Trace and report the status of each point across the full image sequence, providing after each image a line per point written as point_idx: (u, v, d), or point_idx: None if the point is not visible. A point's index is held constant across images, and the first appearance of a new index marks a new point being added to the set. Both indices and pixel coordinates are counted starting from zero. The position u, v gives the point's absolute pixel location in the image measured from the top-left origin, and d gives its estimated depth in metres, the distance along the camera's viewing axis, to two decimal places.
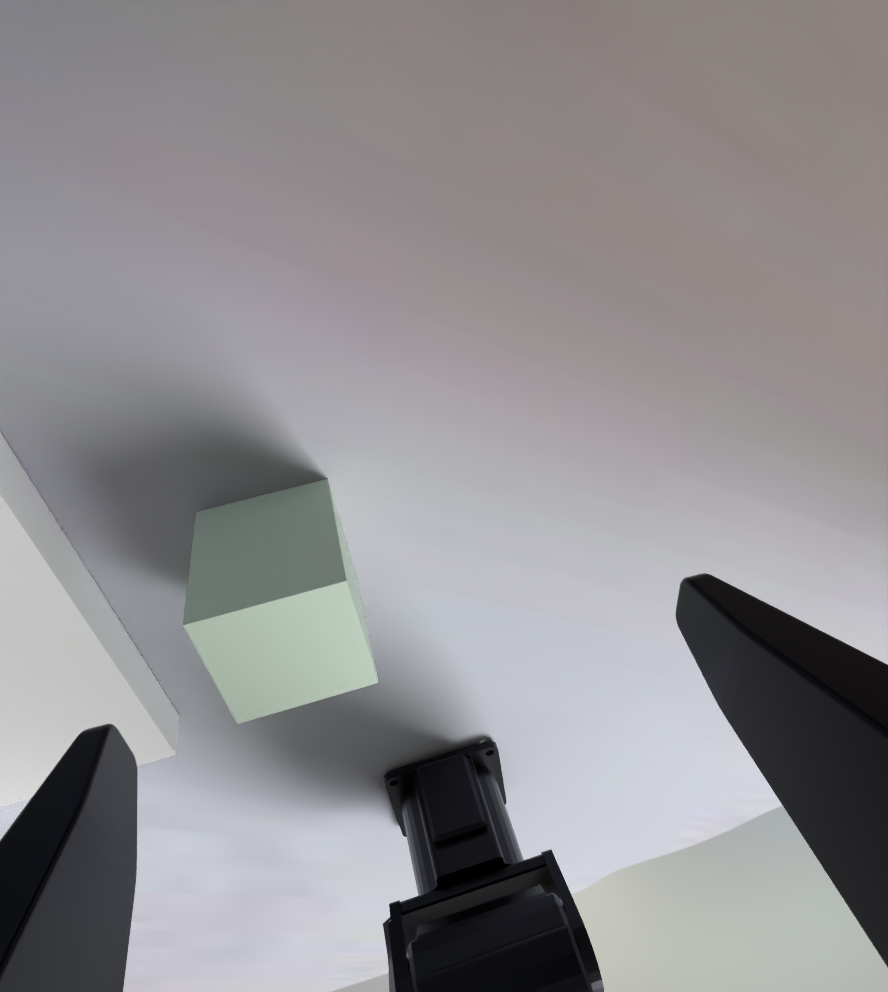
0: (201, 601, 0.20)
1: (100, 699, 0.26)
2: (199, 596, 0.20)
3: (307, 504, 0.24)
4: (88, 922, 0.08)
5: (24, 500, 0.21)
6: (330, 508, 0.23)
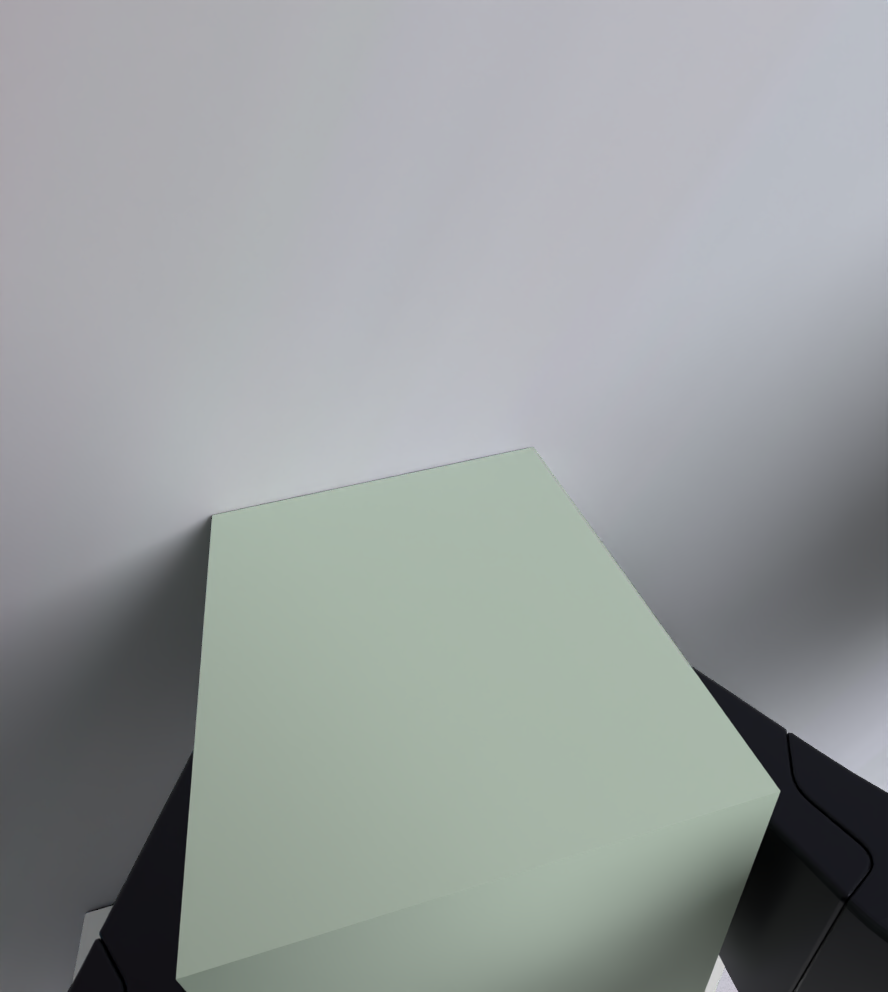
0: None
1: None
2: None
3: None
4: None
5: None
6: (207, 613, 0.08)
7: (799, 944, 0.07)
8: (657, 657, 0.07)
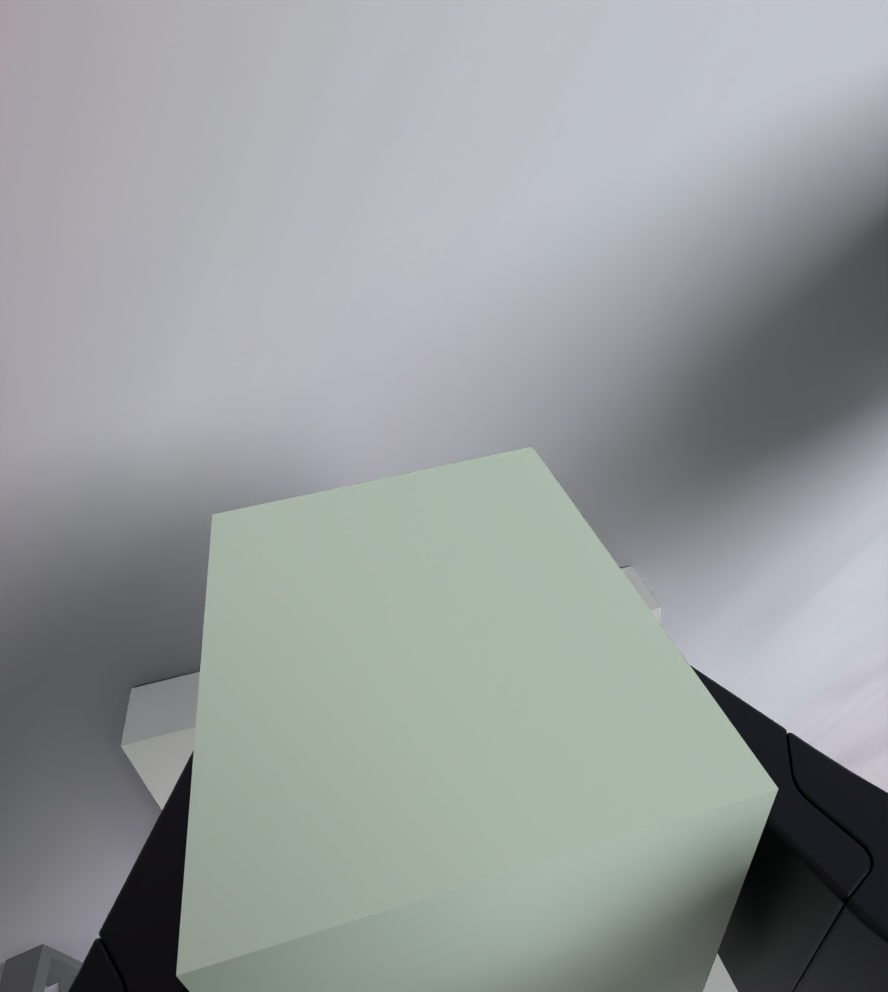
0: None
1: None
2: None
3: None
4: None
5: None
6: (207, 612, 0.08)
7: (799, 944, 0.07)
8: (656, 656, 0.07)
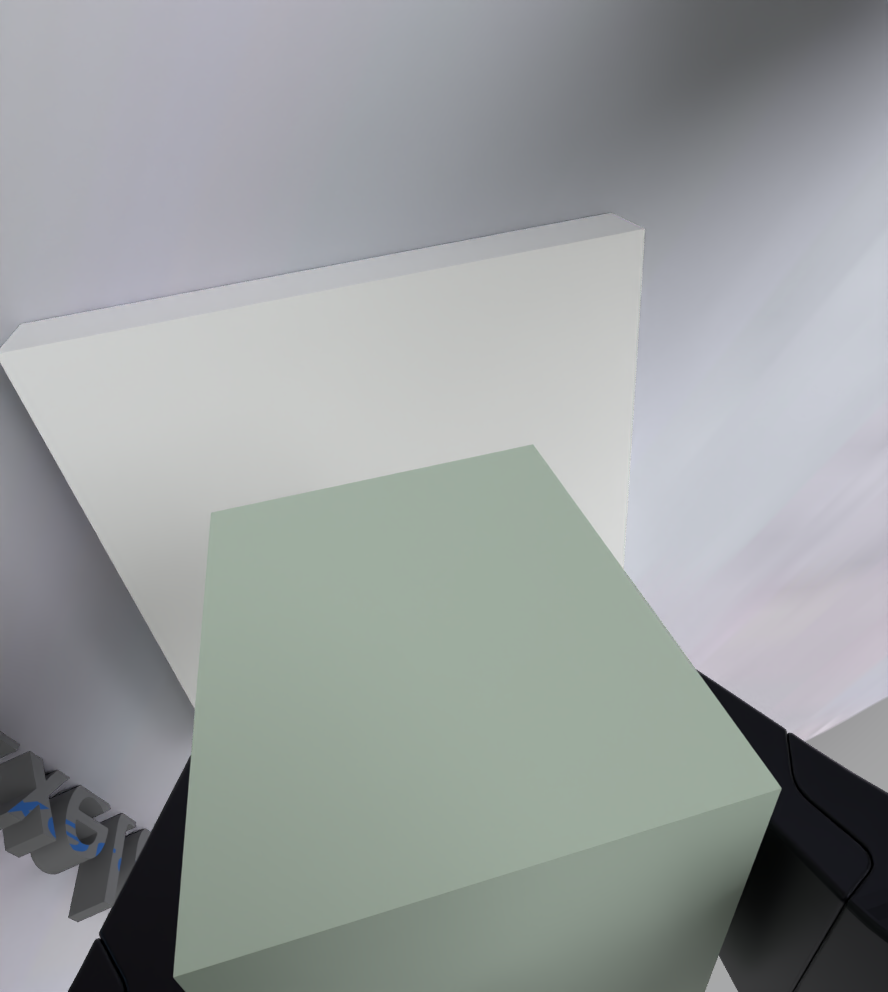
0: None
1: (481, 308, 0.17)
2: None
3: None
4: None
5: (125, 316, 0.16)
6: (205, 610, 0.08)
7: (799, 944, 0.07)
8: (657, 654, 0.07)
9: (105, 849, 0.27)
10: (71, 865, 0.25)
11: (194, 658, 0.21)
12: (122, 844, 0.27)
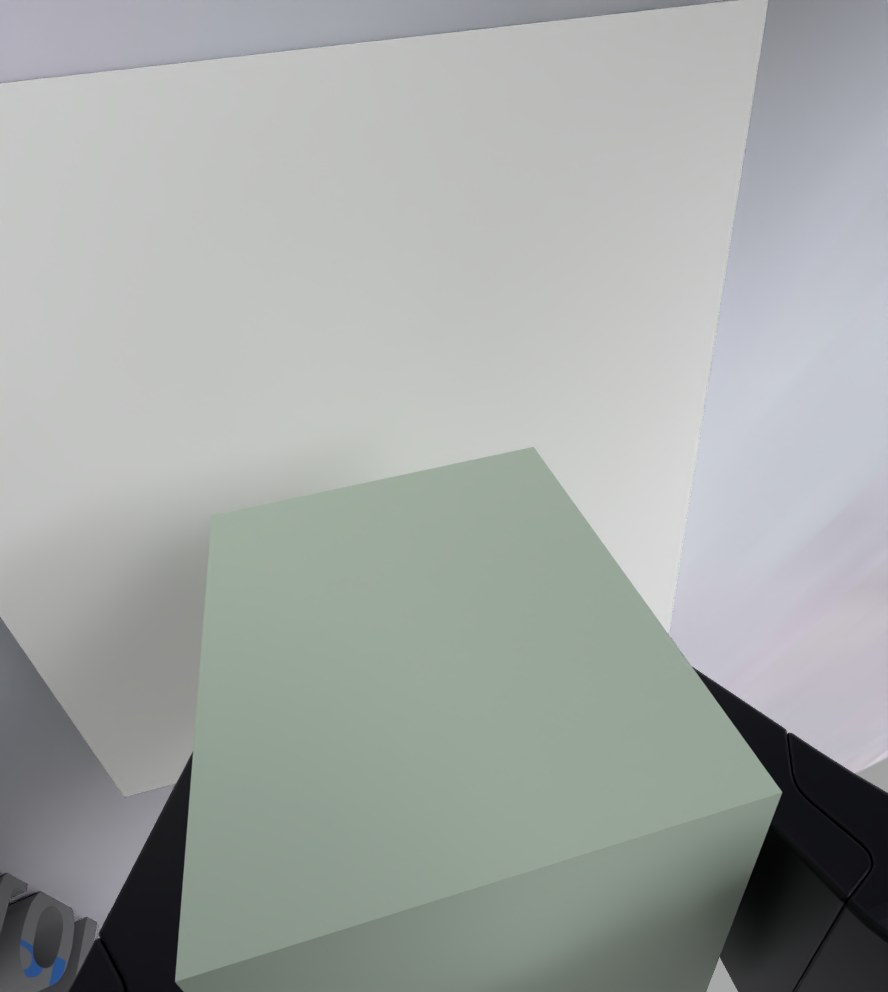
0: None
1: (511, 117, 0.11)
2: None
3: None
4: None
5: None
6: (206, 614, 0.08)
7: (799, 944, 0.07)
8: (658, 658, 0.07)
9: None
10: None
11: (78, 667, 0.15)
12: (2, 917, 0.21)
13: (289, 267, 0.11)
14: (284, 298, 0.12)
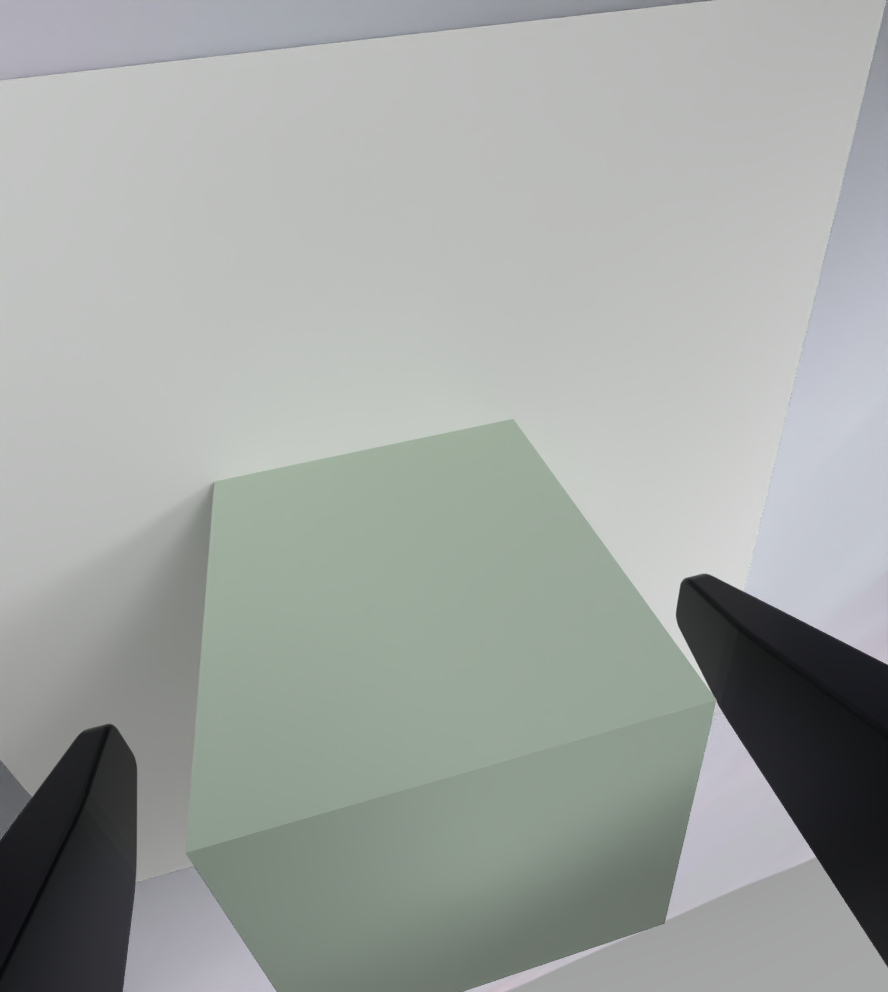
0: None
1: (573, 128, 0.09)
2: None
3: None
4: (88, 922, 0.08)
5: None
6: (210, 564, 0.09)
7: None
8: (616, 595, 0.08)
9: None
10: None
11: (53, 760, 0.13)
12: None
13: (300, 310, 0.09)
14: (294, 347, 0.10)
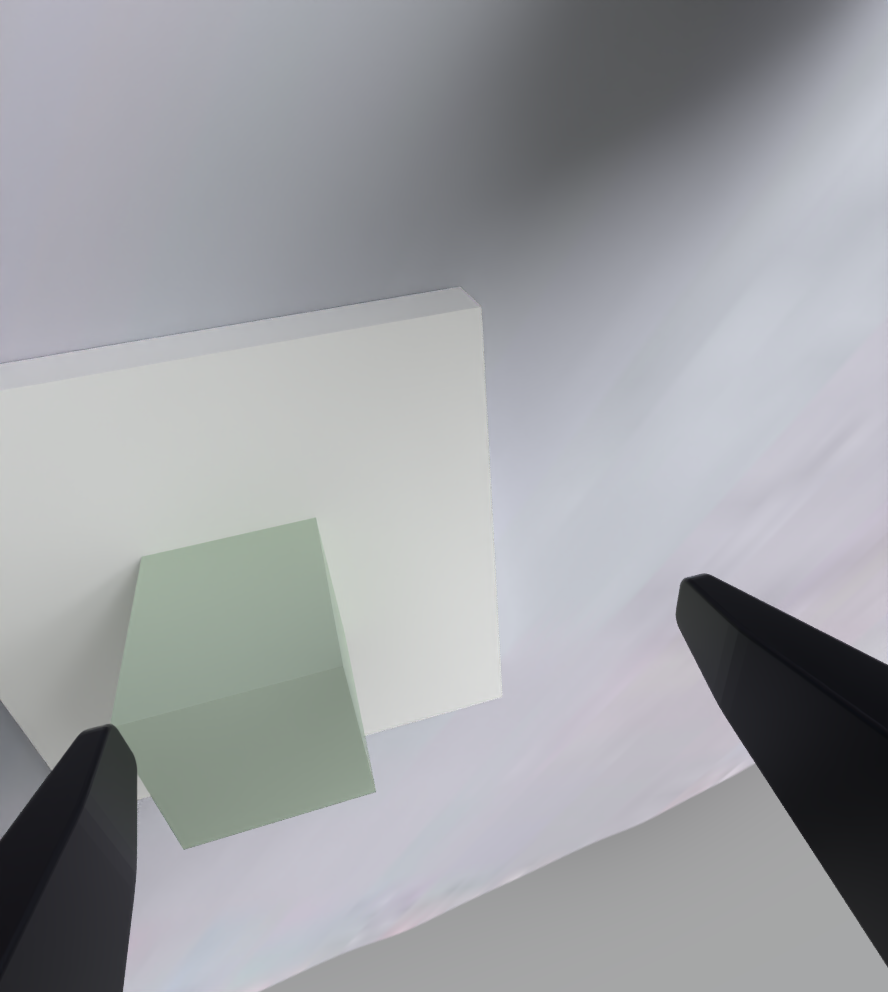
0: None
1: (321, 380, 0.17)
2: None
3: None
4: (89, 922, 0.08)
5: None
6: (134, 605, 0.17)
7: None
8: (323, 620, 0.16)
9: None
10: None
11: (48, 722, 0.21)
12: None
13: (183, 470, 0.18)
14: (182, 487, 0.18)
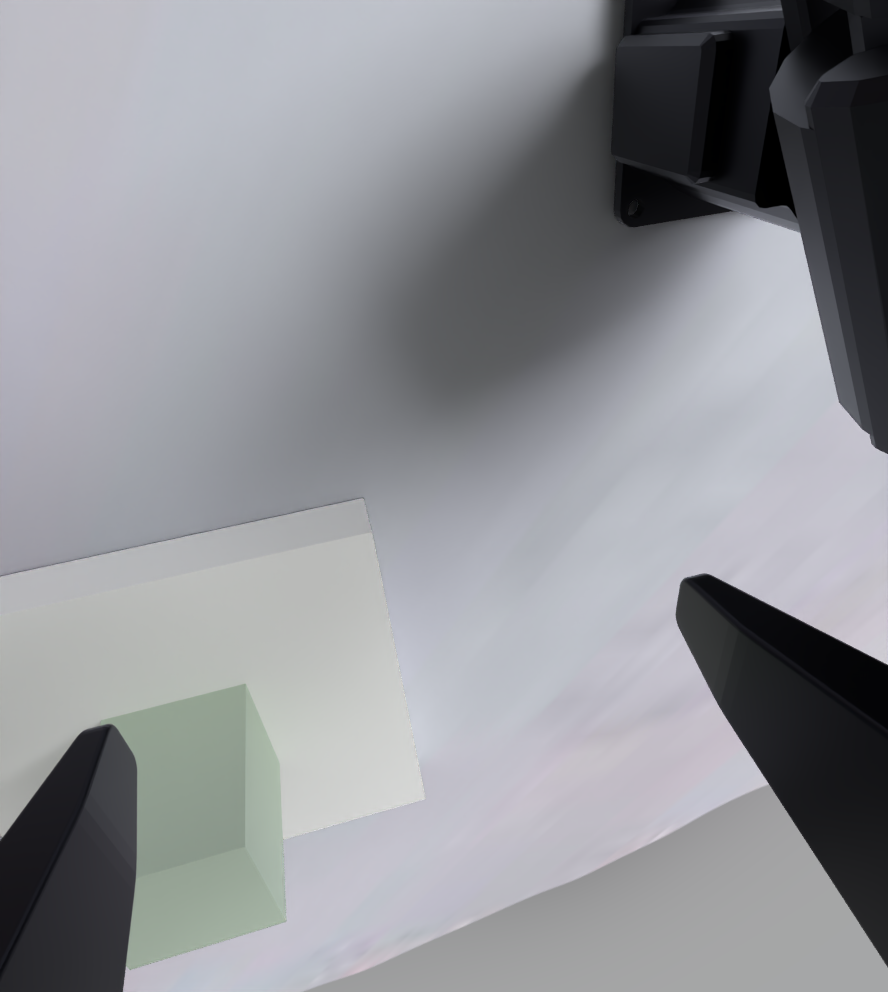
0: None
1: (241, 591, 0.21)
2: None
3: None
4: (88, 922, 0.08)
5: None
6: None
7: None
8: (236, 797, 0.20)
9: None
10: None
11: None
12: None
13: (131, 660, 0.22)
14: (131, 671, 0.22)
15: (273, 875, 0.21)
